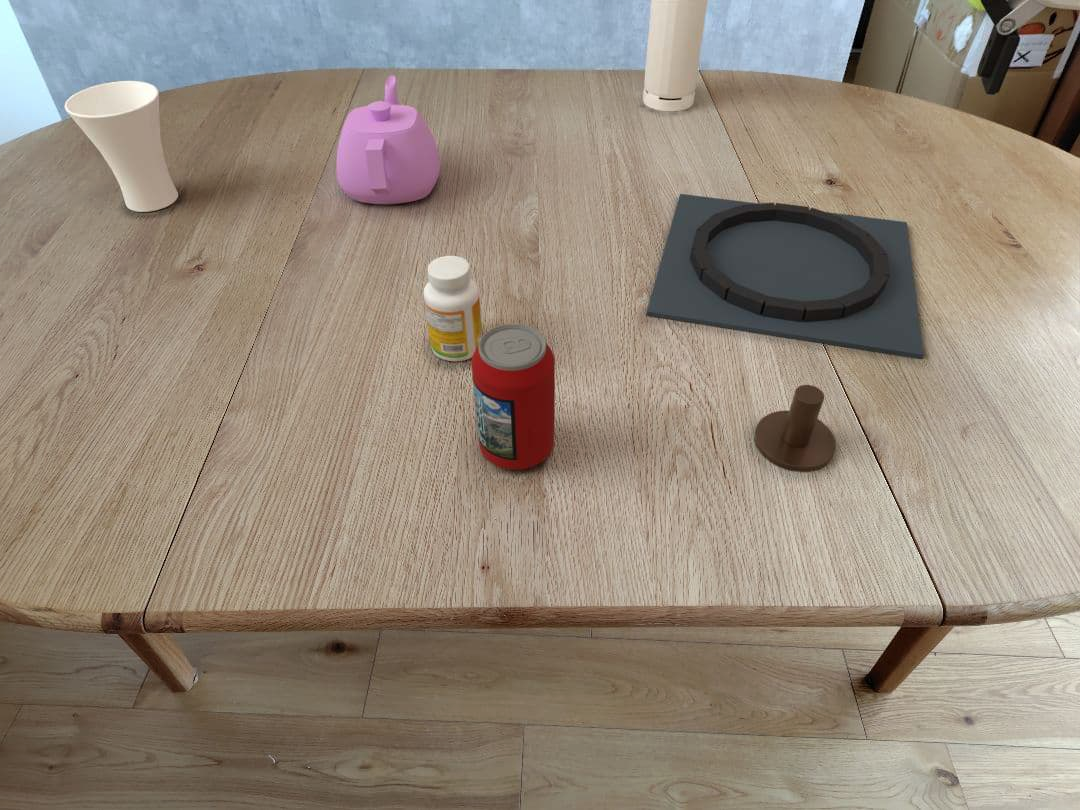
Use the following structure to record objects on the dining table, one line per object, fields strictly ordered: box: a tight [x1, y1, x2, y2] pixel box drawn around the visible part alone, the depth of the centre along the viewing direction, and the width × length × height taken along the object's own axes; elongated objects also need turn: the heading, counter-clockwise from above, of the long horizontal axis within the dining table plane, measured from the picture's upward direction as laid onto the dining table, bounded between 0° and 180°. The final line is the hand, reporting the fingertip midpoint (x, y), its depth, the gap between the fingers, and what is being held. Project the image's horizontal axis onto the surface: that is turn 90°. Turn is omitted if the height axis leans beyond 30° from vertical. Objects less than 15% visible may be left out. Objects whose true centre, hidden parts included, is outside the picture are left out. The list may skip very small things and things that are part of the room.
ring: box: [690, 202, 890, 322], centre depth 88 cm, size 22×22×2 cm
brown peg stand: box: [754, 384, 837, 473], centre depth 67 cm, size 7×7×6 cm
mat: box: [645, 193, 925, 360], centre depth 89 cm, size 28×26×1 cm
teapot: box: [336, 75, 441, 205], centre depth 100 cm, size 13×20×11 cm
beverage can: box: [470, 323, 556, 470], centre depth 65 cm, size 7×7×12 cm
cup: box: [64, 80, 179, 213], centre depth 96 cm, size 10×10×14 cm
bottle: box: [642, 0, 708, 112], centre depth 113 cm, size 8×8×28 cm
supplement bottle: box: [423, 255, 484, 362], centre depth 76 cm, size 5×5×10 cm
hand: (1061, 94), depth 55 cm, fingers open, 9 cm apart
